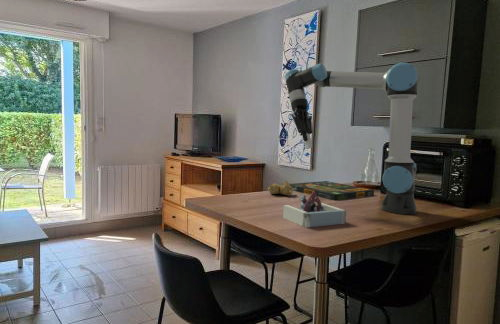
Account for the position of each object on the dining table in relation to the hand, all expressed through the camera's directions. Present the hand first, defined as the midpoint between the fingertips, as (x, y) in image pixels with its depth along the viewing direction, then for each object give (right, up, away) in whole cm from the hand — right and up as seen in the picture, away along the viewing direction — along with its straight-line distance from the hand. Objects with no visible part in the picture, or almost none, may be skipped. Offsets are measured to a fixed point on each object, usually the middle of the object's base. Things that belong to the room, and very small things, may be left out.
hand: (309, 147), depth 171 cm
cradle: (-2, -29, -22) cm, 37 cm away
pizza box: (+19, -25, +46) cm, 55 cm away
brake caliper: (-2, -29, -20) cm, 35 cm away
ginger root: (-10, -24, +30) cm, 40 cm away
